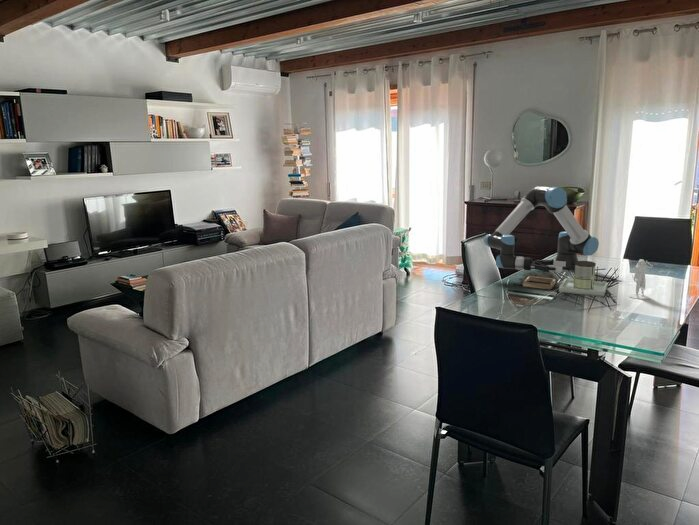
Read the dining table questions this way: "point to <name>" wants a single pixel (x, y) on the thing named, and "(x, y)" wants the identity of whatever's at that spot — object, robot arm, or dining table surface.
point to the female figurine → (640, 279)
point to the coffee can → (584, 275)
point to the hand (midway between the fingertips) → (564, 266)
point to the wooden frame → (539, 285)
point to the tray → (568, 288)
